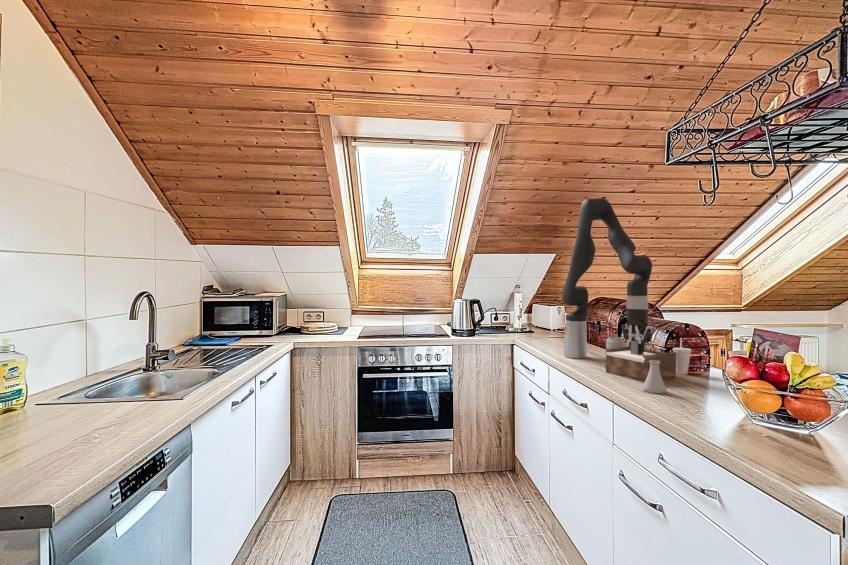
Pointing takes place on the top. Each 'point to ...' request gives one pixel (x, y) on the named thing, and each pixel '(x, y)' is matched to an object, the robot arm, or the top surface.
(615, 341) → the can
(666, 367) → the walnut box
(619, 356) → the lid
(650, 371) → the flask
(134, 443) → the top surface
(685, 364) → the smoothie
